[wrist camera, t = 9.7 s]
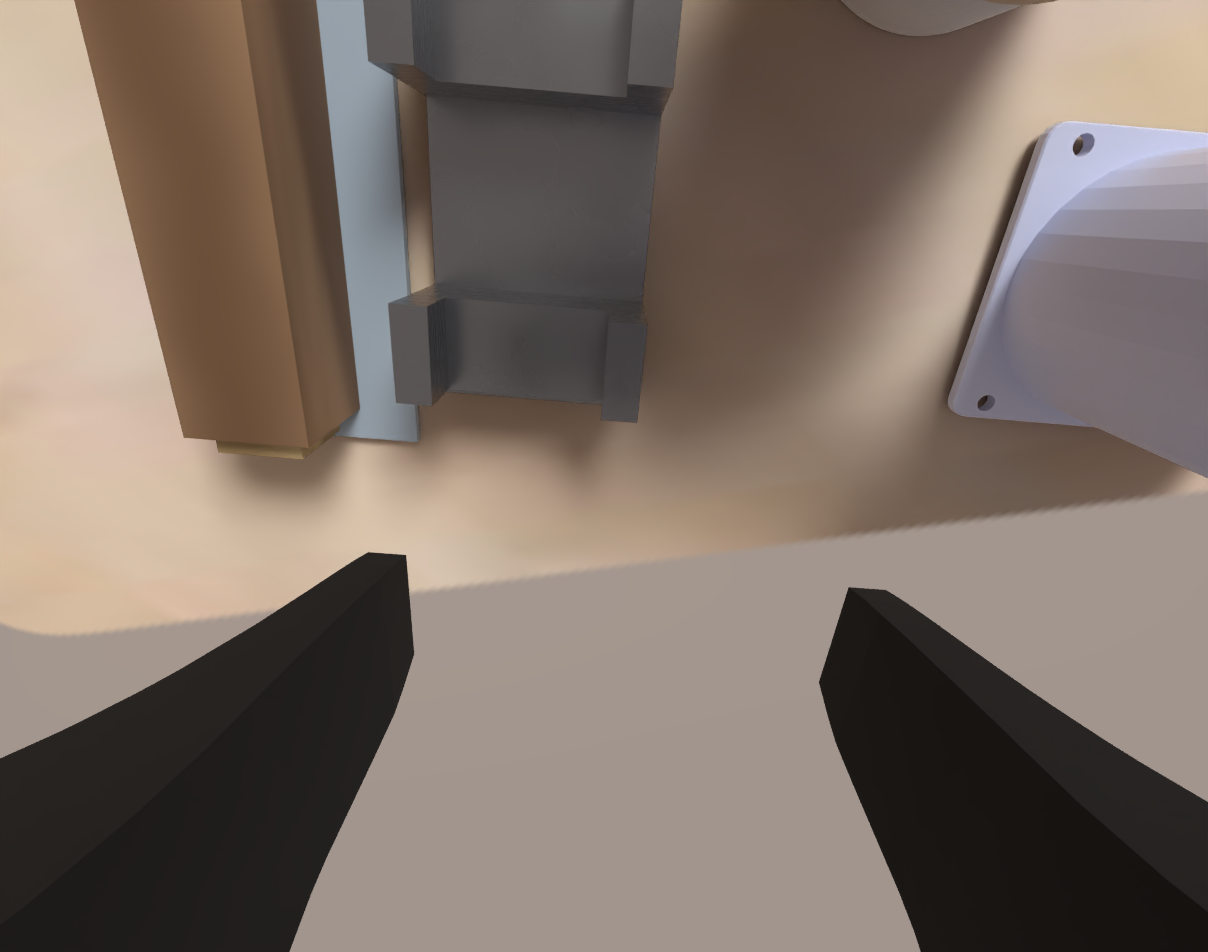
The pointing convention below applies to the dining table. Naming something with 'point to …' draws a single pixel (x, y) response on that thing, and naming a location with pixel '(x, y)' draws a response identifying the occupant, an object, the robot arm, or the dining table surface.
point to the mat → (368, 213)
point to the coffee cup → (930, 13)
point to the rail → (232, 211)
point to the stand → (531, 193)
